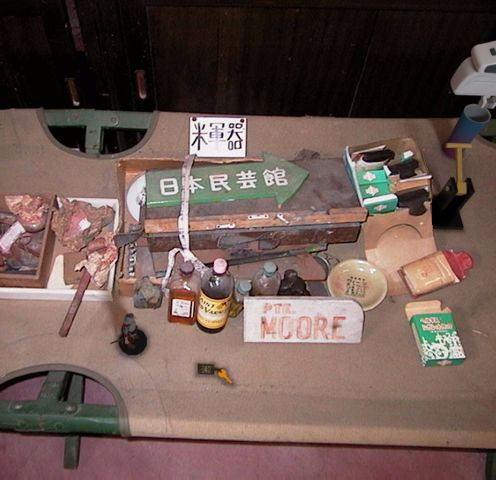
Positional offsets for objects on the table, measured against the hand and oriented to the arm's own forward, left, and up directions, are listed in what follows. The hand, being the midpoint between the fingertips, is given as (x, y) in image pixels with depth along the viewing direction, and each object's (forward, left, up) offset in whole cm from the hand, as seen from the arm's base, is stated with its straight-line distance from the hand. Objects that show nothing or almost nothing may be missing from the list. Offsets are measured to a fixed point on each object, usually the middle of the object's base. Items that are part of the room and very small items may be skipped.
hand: (485, 106), depth 120 cm
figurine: (+79, +49, -29) cm, 97 cm away
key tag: (+60, +56, -29) cm, 87 cm away
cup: (-8, -12, -29) cm, 33 cm away
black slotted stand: (0, +10, -29) cm, 31 cm away
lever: (0, +5, -17) cm, 18 cm away
